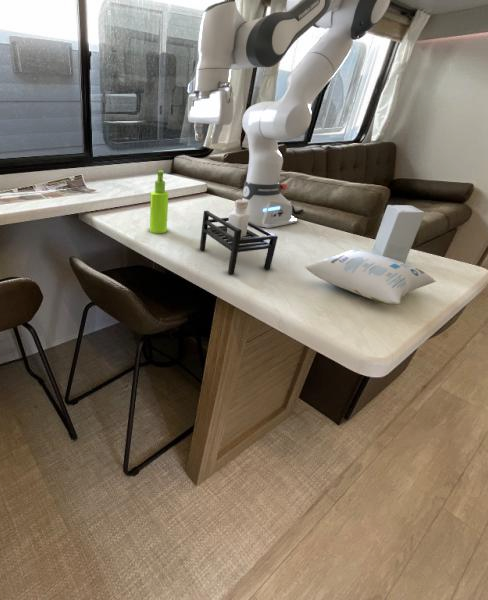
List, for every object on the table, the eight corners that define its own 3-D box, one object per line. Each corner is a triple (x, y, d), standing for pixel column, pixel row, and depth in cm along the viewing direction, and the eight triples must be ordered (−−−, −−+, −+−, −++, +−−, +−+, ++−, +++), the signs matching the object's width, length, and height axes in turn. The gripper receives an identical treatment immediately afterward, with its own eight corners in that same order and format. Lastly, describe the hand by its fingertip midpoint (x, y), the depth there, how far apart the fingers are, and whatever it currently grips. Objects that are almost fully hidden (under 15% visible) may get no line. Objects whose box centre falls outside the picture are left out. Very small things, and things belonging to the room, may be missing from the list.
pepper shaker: (246, 236, 88) (253, 201, 84) (236, 239, 87) (242, 203, 82) (235, 232, 91) (241, 198, 87) (225, 234, 90) (230, 200, 85)
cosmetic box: (402, 268, 86) (428, 213, 79) (376, 265, 88) (399, 211, 80) (391, 256, 93) (414, 204, 85) (367, 254, 95) (387, 203, 87)
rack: (234, 245, 101) (240, 207, 95) (270, 269, 87) (280, 226, 80) (199, 249, 99) (203, 210, 93) (229, 275, 84) (237, 230, 78)
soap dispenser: (166, 227, 118) (169, 168, 107) (166, 233, 112) (169, 172, 102) (150, 226, 118) (151, 168, 108) (149, 233, 112) (151, 172, 102)
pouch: (446, 264, 70) (351, 235, 84) (407, 290, 61) (308, 253, 76) (428, 295, 74) (341, 262, 88) (388, 323, 66) (299, 282, 80)
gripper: (244, 80, 77) (235, 144, 84) (205, 85, 94) (200, 138, 101) (220, 80, 76) (213, 145, 83) (185, 85, 93) (181, 139, 100)
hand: (205, 141), depth 92 cm, fingers open, 8 cm apart
